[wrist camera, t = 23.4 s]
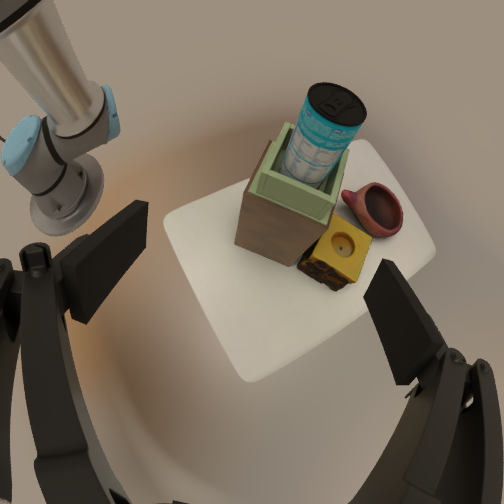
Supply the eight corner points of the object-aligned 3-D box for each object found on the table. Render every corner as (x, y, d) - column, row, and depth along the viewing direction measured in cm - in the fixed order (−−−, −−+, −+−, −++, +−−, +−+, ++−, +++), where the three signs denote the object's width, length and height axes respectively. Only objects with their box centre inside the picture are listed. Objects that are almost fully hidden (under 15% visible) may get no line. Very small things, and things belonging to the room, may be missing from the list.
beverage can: (327, 186, 36) (377, 114, 22) (296, 206, 35) (341, 132, 20) (300, 155, 37) (335, 77, 23) (268, 173, 35) (294, 89, 21)
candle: (335, 292, 55) (357, 284, 46) (294, 268, 56) (310, 256, 46) (352, 252, 58) (374, 238, 49) (314, 229, 59) (331, 210, 49)
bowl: (377, 189, 64) (393, 174, 56) (399, 234, 61) (417, 223, 54) (328, 202, 61) (341, 186, 53) (350, 253, 58) (367, 242, 50)
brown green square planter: (234, 244, 56) (243, 192, 35) (252, 203, 59) (269, 139, 38) (288, 266, 56) (328, 229, 35) (303, 225, 59) (344, 172, 38)
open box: (247, 192, 35) (252, 170, 30) (272, 142, 38) (279, 117, 32) (325, 226, 35) (342, 209, 30) (341, 172, 38) (356, 151, 32)
